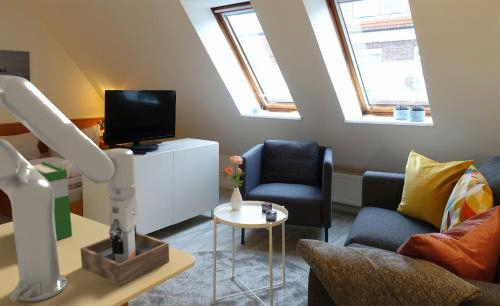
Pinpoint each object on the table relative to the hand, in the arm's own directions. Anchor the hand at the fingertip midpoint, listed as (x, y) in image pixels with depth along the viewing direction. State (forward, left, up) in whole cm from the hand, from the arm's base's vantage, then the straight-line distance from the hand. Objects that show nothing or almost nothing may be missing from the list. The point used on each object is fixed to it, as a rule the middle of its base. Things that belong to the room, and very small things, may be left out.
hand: (125, 246), depth 122 cm
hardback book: (+20, +36, -6) cm, 42 cm away
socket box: (0, 0, -6) cm, 6 cm away
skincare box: (0, 0, -6) cm, 6 cm away
